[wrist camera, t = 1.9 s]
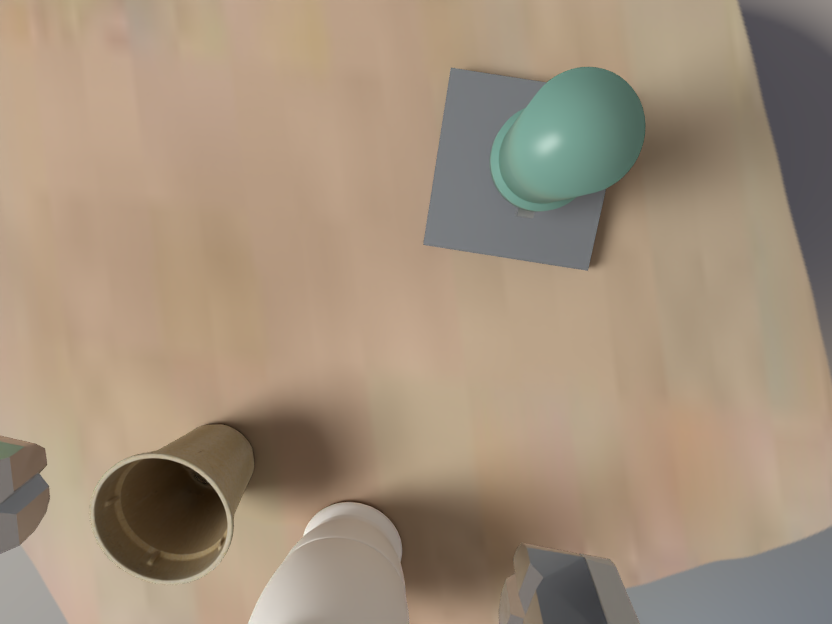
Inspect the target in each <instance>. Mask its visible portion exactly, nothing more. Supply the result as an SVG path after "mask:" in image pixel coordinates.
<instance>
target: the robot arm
mask: <svg viewBox="0 0 832 624" xmlns="http://www.w3.org/2000/svg"><path fill="white" fill-rule="evenodd" d="M46 466H47V459H46V452H45V448H43V447H41V446H39V445H37V444H35V443H30V442H26V441H22V440H17V439H13V438H9V437H4V436H0V554H1V553H3V552H6V551H8V550H10V549H12V548H15V547H17V546H19V545H21V544H22V543H23V542H24V541H25V540H26V539H27V538H28V537H29V536H30V535H31V534H32V533H33V532H34V531H35V530H36V528H37V527H38V525H39V523H40V522H41V520H42V518H43V517H44V515H45V514H46V511H47V508H48V504H49V500H50V493H49V486H48V484H47V483H46V482H45V480H44V479H43V478H42V477H41V475H40V474H39V473H40V472H41V471H42V470H43V469H44V468H45V467H46ZM513 563H514V570H515V573H514V574H513V575H511V576H510V577H508V578H507V579H506V580H505V583H504V587H503V590H502V593H501V599H500V606H499V624H640V623H639V620H638V618H637V616H636V614H635V611H634V609H633V606H632V604H631V602H630V599H629V597H628V595H627V592H626V590H625V587H624V585H623V583H622V580H621V578H620V575H619V573H618V571H617V568H616V566H615V564H614V563H613V562H612V561H611V560H610V559H606V558H601V557H596V556H590V555H585V554H577V553H573V552H568V551H563V550H558V549H552V548H547V547H542V546H537V545H532V544H527V543H521V544H520V545H519V546H518V548H517V550H516V552H515V555H514V558H513Z"/></svg>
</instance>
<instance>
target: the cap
mask: <svg viewBox="0 0 832 624" xmlns="http://www.w3.org/2000/svg"><path fill="white" fill-rule="evenodd" d="M644 136H645V116H644V111H643V107H642V105H641V102H640V100H639V98H638V96H637V94H636V93H635V91H634V90H633V88H632V87H631V86H630V85H629V84H628V83H627V82H626V81H625V80H624V79H622V78H621V77H620V76H618V75H616V74H615V73H613V72H610V71H608V70H605V69H601V68H596V67H580V68H575V69H571V70H568V71H565V72H563V73H561V74H559V75H557V76H555V77H554V78H552V79H551V80H549V81H548V82H547V83H546V84H545V85H544V86H543V87H542V88H541V89H540V90H539V91H538V92H537V94H536V95H535V96H534V98H533V99H532V100H531V101H530V103H529V104H528V105H527V107H526V108H524V109H522V110H520V111H518V112H517V113H515V114H514V115H513V116H512V117H510V118H509V119H508V120H507V122H506V123H505V124H504V125H503V126H502V128H501V129H500V131H499V132H498V134H497V136H496V138H495V139H494V142H493V145H492V148H491V152H490V159H489V164H490V173H491V177H492V180H493V182H494V185H495V187H496V188H497V190H498V192H499V193H500V194H501V195H502V197H503V198H504V199H506V200H507V201H508V202H509V203H511V204H512V205H514V206H516V207H518V208H520V209H523V210H527V211H534V212H540V211H548V210H553V209H557V208H560V207H562V206H564V205H566V204H568V203H569V202H571V201H572V200H574V199H575V198H576V197H578V196H582V195H586V194H591V193H595V192H598V191H601V190H604V189H606V188H608V187H610V186H611V185H613V184H615V183H616V182H617V181H619V180H620V179H621V178H622V177H623V176H624V175H625V174H626V173H627V172H628V171H629V170H630V169H631V167H632V166H633V165H634V163H635V161H636V160H637V158H638V156H639V154H640V151H641V149H642V145H643V142H644Z"/></svg>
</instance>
